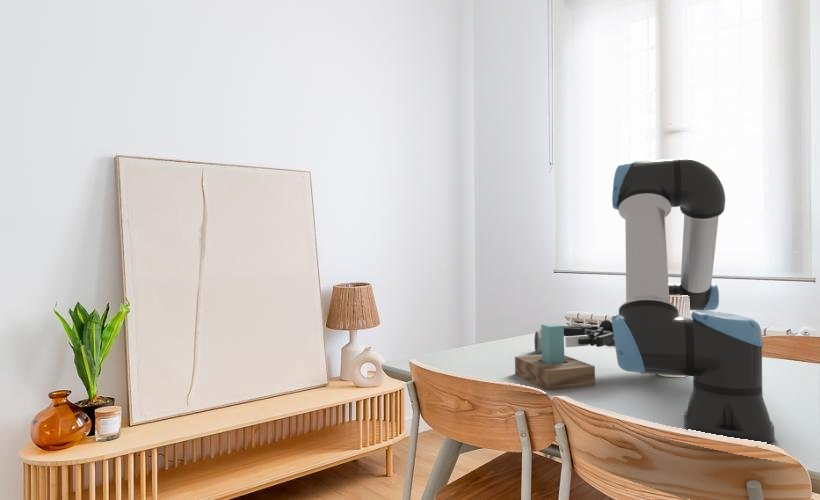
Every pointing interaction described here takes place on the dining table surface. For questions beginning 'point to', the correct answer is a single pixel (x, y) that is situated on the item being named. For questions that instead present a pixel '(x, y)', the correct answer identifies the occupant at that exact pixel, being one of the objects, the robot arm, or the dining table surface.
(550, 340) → the teal peg
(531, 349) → the dining table surface
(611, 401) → the dining table surface
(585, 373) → the socket block
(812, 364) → the dining table surface
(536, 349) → the gray can
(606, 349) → the dining table surface
